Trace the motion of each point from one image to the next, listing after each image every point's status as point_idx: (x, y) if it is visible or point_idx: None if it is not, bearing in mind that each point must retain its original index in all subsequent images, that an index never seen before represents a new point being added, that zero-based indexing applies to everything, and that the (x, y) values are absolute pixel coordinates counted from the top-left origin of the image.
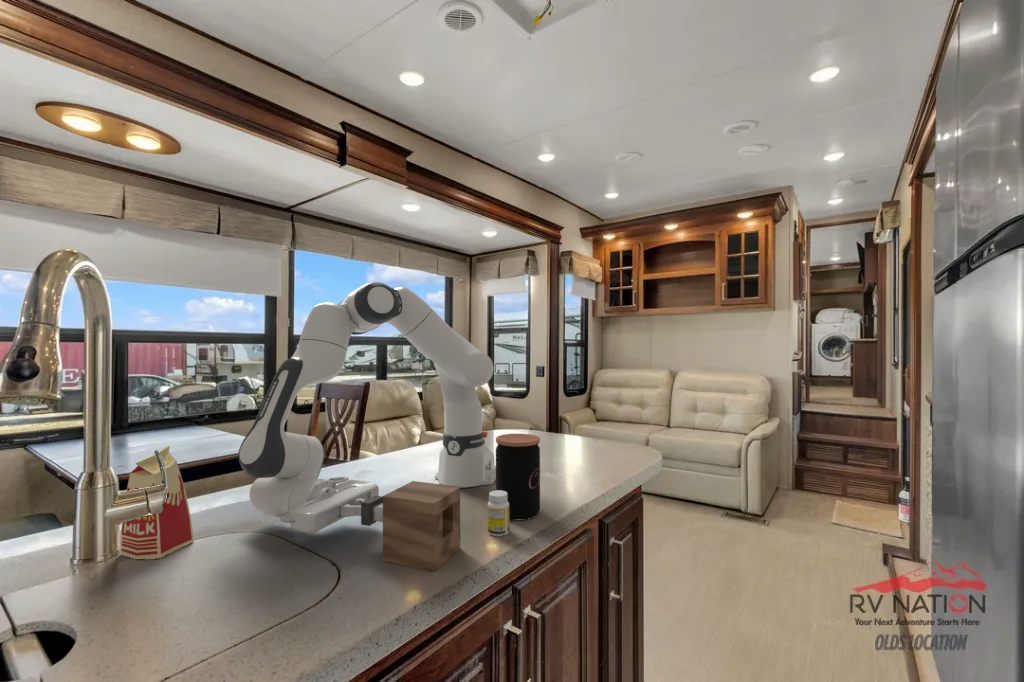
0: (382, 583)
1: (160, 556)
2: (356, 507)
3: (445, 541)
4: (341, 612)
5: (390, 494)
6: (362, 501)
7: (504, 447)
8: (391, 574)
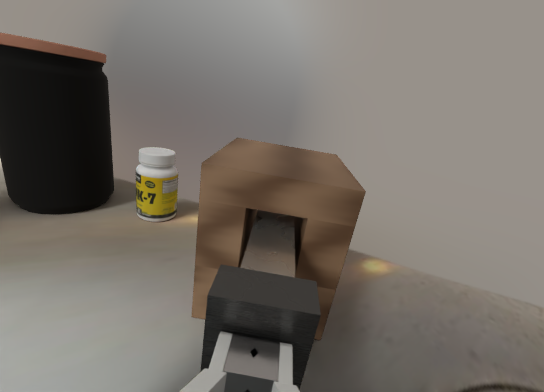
0: (383, 308)
1: None
2: (292, 386)
3: None
4: (486, 331)
5: (342, 183)
6: (207, 390)
7: (78, 64)
8: (352, 306)
